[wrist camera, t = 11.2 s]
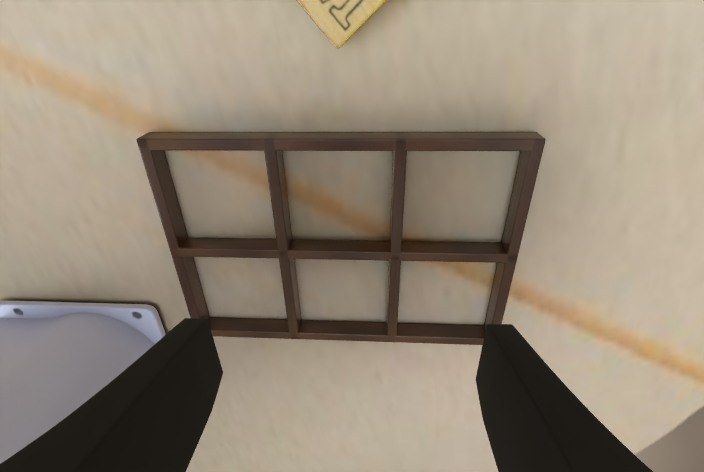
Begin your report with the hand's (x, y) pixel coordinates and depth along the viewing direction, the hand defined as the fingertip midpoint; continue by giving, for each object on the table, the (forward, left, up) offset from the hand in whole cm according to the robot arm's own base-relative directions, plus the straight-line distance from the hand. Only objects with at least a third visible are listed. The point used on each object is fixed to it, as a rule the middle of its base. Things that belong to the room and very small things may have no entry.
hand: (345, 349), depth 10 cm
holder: (-1, -2, -9) cm, 9 cm away
